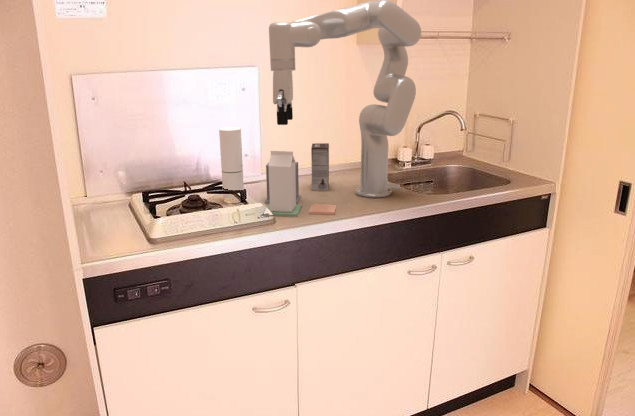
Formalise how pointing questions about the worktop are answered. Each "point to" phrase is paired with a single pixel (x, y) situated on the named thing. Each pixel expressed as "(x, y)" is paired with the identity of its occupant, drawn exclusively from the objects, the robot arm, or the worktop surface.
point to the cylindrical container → (231, 159)
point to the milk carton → (282, 181)
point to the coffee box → (320, 166)
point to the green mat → (293, 213)
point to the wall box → (296, 184)
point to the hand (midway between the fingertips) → (285, 122)
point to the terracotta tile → (323, 209)
